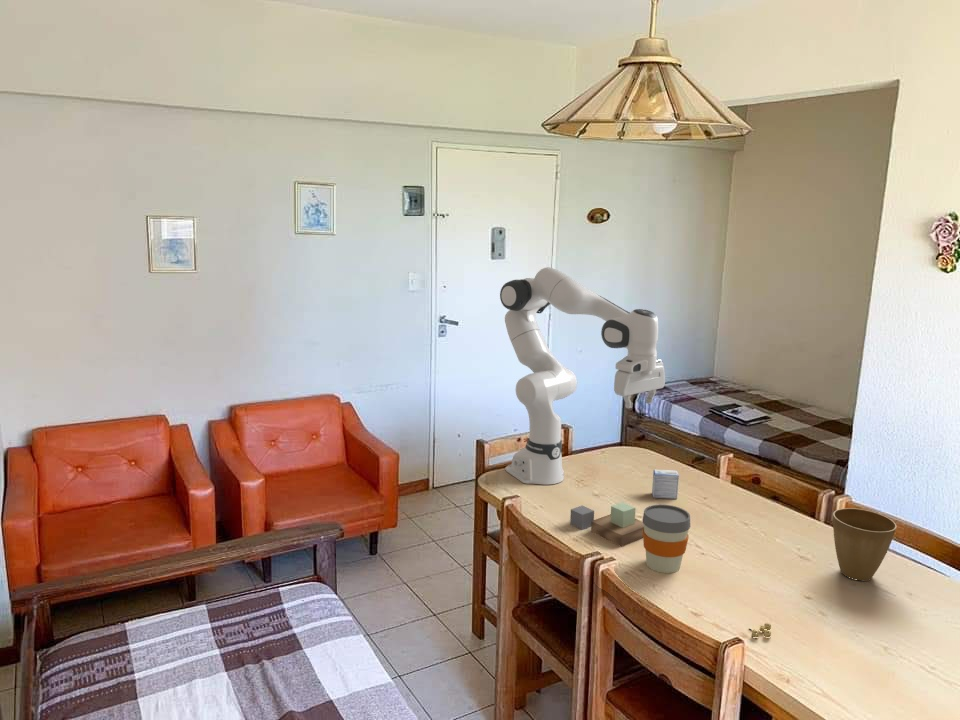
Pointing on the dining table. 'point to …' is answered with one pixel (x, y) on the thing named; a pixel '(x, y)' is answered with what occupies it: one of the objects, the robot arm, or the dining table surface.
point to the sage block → (622, 514)
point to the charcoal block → (581, 517)
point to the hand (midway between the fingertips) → (638, 405)
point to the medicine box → (665, 484)
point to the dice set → (766, 632)
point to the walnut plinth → (617, 531)
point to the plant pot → (861, 541)
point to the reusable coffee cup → (665, 537)
